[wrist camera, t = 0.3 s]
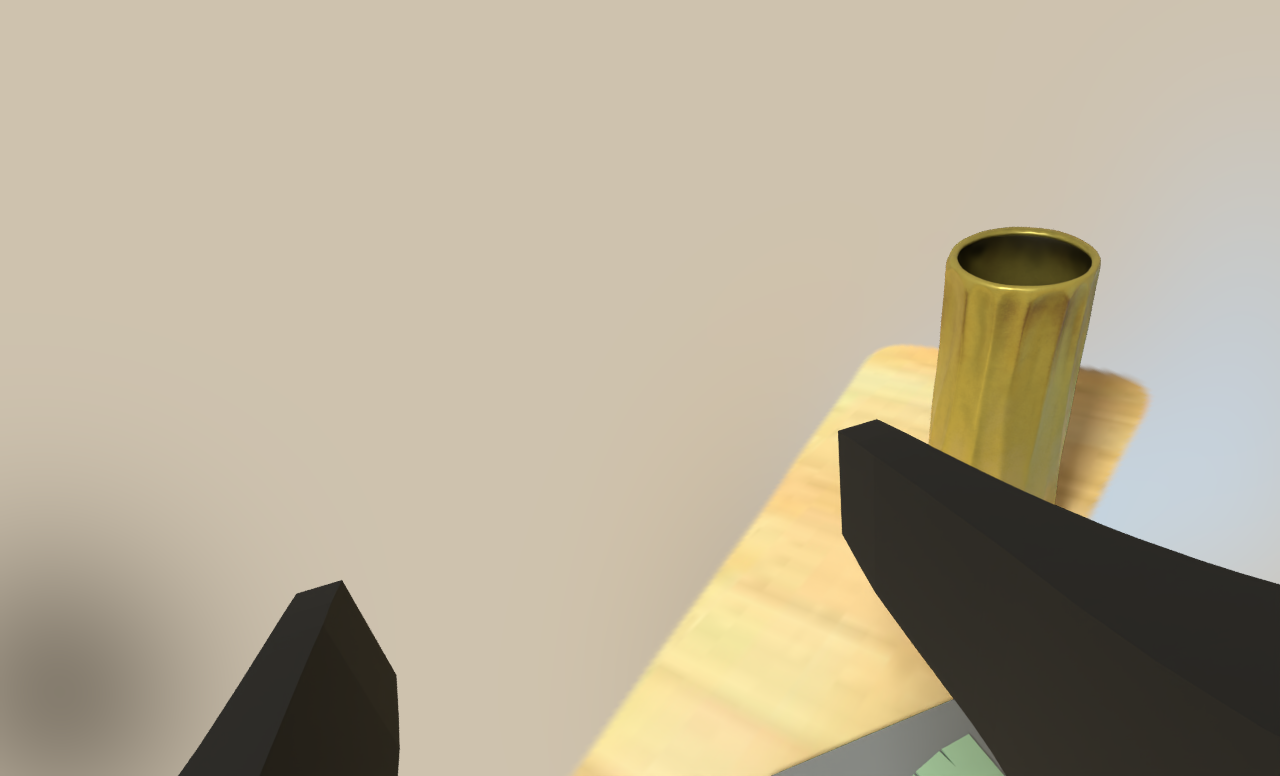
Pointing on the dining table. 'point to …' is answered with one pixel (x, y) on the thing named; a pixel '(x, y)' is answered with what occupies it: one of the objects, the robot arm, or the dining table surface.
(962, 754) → the dial board
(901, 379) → the dining table surface
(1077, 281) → the vase
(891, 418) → the dining table surface
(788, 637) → the dining table surface
